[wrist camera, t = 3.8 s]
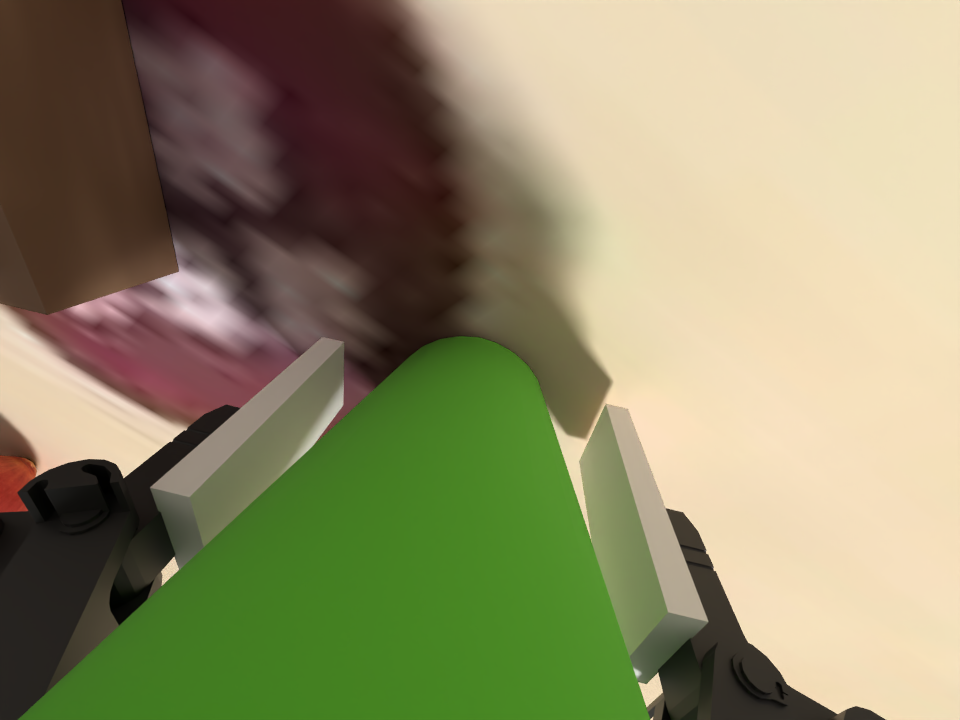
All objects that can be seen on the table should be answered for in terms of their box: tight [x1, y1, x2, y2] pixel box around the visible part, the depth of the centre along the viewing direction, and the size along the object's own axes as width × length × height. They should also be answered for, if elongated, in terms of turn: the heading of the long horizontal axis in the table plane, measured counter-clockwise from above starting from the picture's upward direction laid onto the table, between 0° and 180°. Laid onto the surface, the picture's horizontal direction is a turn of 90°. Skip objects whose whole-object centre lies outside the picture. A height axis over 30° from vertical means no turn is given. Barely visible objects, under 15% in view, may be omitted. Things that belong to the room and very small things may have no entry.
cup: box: [18, 336, 650, 720], centre depth 9 cm, size 9×9×11 cm
